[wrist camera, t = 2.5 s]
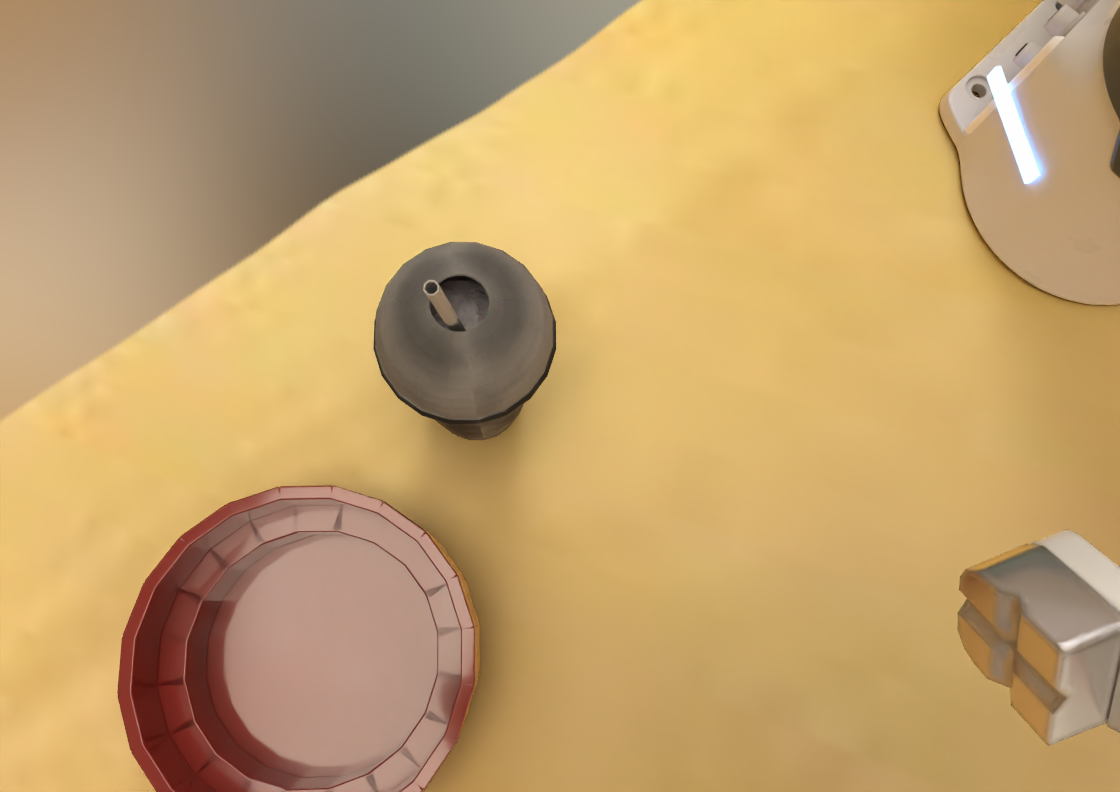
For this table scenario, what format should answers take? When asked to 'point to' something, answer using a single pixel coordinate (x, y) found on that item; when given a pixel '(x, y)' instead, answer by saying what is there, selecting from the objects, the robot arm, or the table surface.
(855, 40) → the table surface
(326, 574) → the bowl
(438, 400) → the beverage cup
